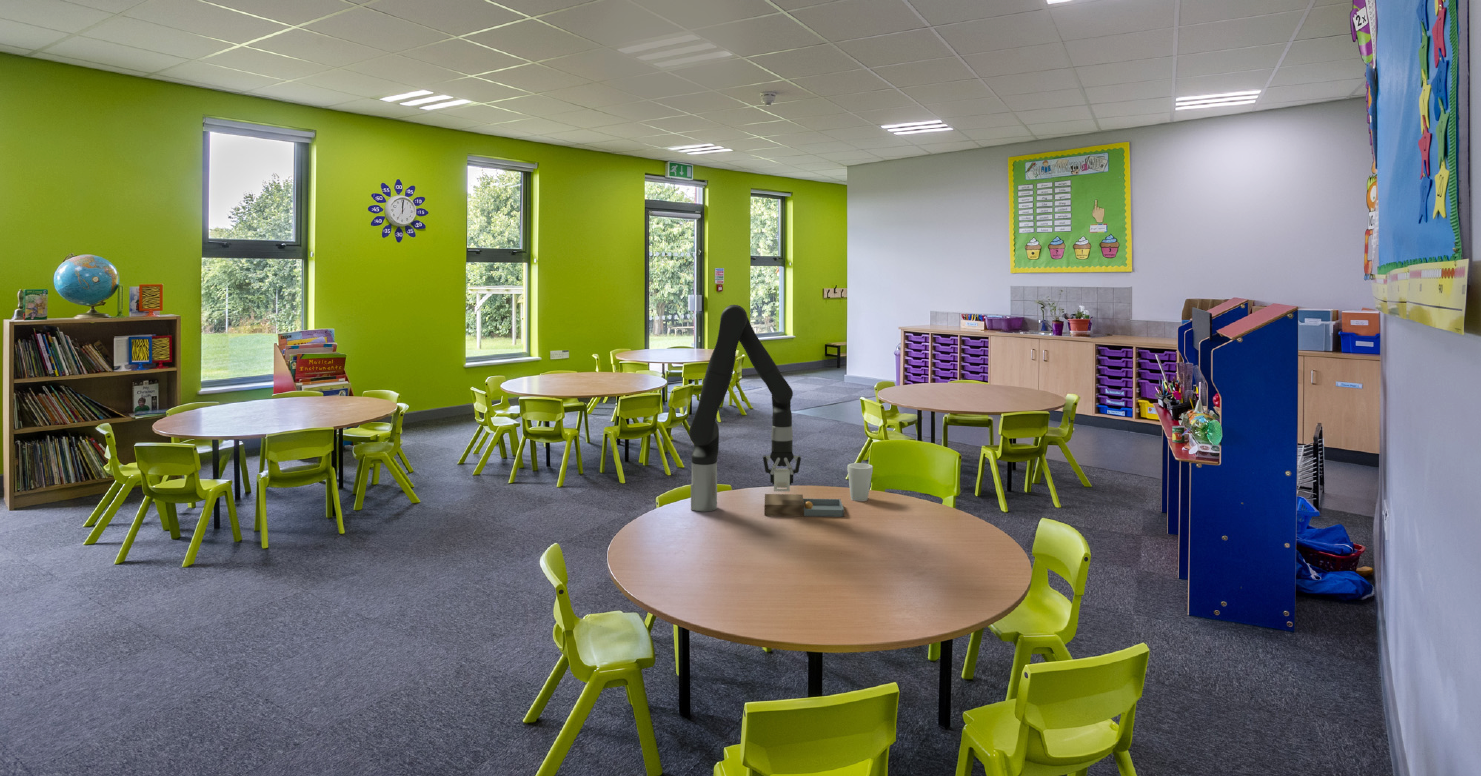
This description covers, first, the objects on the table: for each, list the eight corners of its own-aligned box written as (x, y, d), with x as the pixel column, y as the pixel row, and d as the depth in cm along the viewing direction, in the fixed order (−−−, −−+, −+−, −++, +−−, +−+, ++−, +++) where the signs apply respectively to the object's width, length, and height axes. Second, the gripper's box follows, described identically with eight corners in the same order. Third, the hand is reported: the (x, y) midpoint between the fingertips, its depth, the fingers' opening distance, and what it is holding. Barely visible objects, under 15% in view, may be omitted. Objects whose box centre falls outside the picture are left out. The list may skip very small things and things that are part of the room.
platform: (764, 515, 275) (764, 504, 275) (764, 504, 289) (764, 493, 289) (804, 516, 275) (804, 505, 274) (802, 505, 289) (802, 494, 288)
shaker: (774, 491, 278) (774, 472, 277) (774, 487, 284) (774, 468, 283) (789, 491, 278) (789, 472, 277) (789, 487, 283) (789, 468, 282)
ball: (802, 506, 280) (809, 500, 279) (802, 504, 283) (808, 498, 282) (808, 512, 280) (814, 506, 280) (808, 509, 283) (814, 504, 283)
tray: (804, 516, 275) (804, 509, 274) (802, 505, 289) (802, 498, 288) (843, 516, 274) (843, 509, 274) (840, 505, 288) (840, 499, 288)
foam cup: (842, 497, 299) (842, 464, 298) (862, 494, 303) (863, 462, 302) (855, 503, 291) (856, 469, 289) (876, 500, 295) (877, 467, 293)
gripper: (761, 440, 275) (761, 486, 277) (802, 440, 274) (802, 487, 276) (762, 436, 282) (762, 481, 285) (801, 436, 282) (801, 481, 284)
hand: (781, 483), depth 280 cm, fingers closed on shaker, 5 cm apart
